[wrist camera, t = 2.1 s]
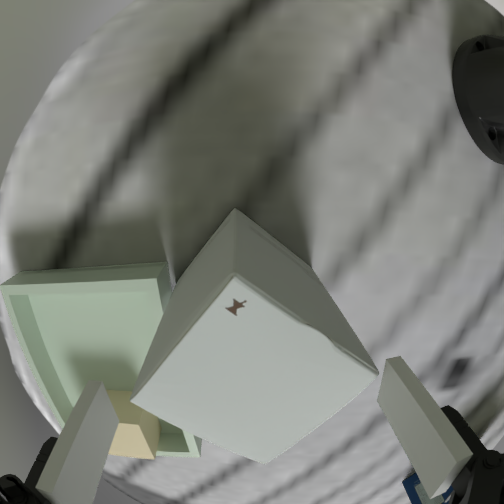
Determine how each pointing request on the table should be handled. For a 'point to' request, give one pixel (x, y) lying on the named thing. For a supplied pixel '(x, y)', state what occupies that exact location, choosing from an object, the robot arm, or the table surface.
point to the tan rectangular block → (133, 428)
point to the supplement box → (251, 347)
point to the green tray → (92, 333)
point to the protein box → (423, 492)
